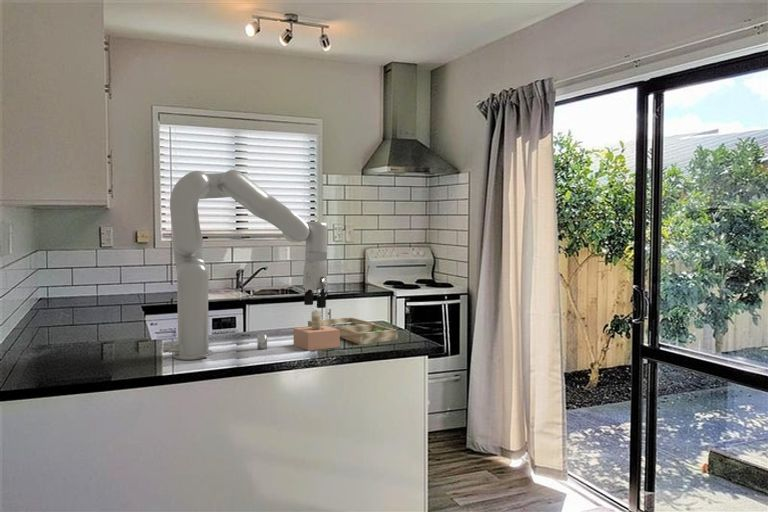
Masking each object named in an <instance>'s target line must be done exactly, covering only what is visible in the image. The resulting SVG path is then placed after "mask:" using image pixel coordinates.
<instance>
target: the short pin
mask: <svg viewBox="0 0 768 512" xmlns="http://www.w3.org/2000/svg"><path fill="white" fill-rule="evenodd" d="M256 336H257V337H256V338H257V339H256V341H257V343H256V344H257V345H256V346H257V348H256V349H257V350H258V351H265V350H268V333H258V334H257V335H256Z"/></svg>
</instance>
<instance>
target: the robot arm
mask: <svg viewBox="0 0 768 512" xmlns="http://www.w3.org/2000/svg"><path fill="white" fill-rule="evenodd" d="M220 198H221V199H223V198H231V199H233V200H234V201H235V202H237V203H239V204H240V206H242V207H243V208H245V209H246V210H247V211H248V212H250V213H251V214H252V215H254V216H255V217H256V218H259V219H261V220H262V221H265V222H268V223H270V224H271V225H273V226H274V227H276V228H277V229H278V230H279V231H280V232H281V233H282V236H283V237H284V239H285V240H286V241H289V242H291V243H302V242H305V247H304V248H305V250H304V255H305V256H304V266H303V277H302V287H303V289H304V290H303V293H304V297H303V298H304V302H303V303H304V306H312V305H314V293H313V292H314V291H316V293H317V296H316V309H325V308H327V307H326V306H327V296H328V295H327V294H328V288H329V283H328V281H327V279H328V274H327V273H328V272H327V262H328V261H327V260H328V233H329V231H328V227H329V226H328V223H327V222H325V221H309V222H308V221H307V222H306V221H305V220H304V219H303V218H301V217H300V216H299V215H298V214H297V213H295V212H294V211H292V209H290V207H287V206H286V205H284V204H283V203H281V202H280V201H279V200H277V199H276V198H275V197H273V196H271V195H270V194H269V193H268V192H267V191H265V190H264V189H263V188H261V187H260V186H259V185H258V184H256V183H255V182H254V181H253V180H251V179H250V178H249V177H248V176H246V175H245V174H244V173H242V172H241V171H239V170H237V169H230V170H227V171H225V172H219V173H217V172H216V173H205V172H204V171H201V170H200V171H199V170H193V171H190V172H188V173H186V174H185V175H184V176H182V177H181V178H179V180H178V181H177V182H176V183H175V185H174V186H173V188H172V191H171V194H170V197H169V213H170V221H171V228H172V240H171V242H172V249H173V250H172V251H173V258H174V263H175V270H176V281H177V283H176V286H177V287H176V288H177V294H176V295H177V341H175V344H172V345H170V346H169V345H168V346H167V345H166V346H162V353H163V354H164V353H166V354H167V353H169V354H171V353H173V354H172V358H174V359H176V360H185V361H186V360H189V361H190V360H202V359H207V358H208V357H209V356H212V355H213V354H214V352H215V351H214V350H211V349H209V347H210V346H209V345H210V343H209V342H210V341H209V284H210V283H209V282H210V281H209V279H210V278H209V277H210V276H209V274H210V273H209V270H208V267H207V265H206V262H205V255H204V248H203V244H204V243H203V242H204V239H203V235H202V231H201V225H200V217H199V208H198V206H199V201H200V200H206V199H220Z"/></svg>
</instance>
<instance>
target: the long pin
mask: <svg viewBox="0 0 768 512" xmlns="http://www.w3.org/2000/svg"><path fill="white" fill-rule="evenodd" d="M321 320H322V311H319V310H317V311H316V310H315V311H314V310H313V311H311V321H312V330H321Z"/></svg>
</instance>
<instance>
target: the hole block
mask: <svg viewBox="0 0 768 512" xmlns="http://www.w3.org/2000/svg"><path fill="white" fill-rule="evenodd" d="M328 326H329V325H327V326H324V325H323V326H321V330H312V327H308V326H303V327H302V326H301V327H293V346H295V347H296V348H297V347H298V348H301V349H303V350H306V351H309V352H310V351H316V350H326V349H335V348H341V337H340V330H339V329H335V328H331V327H332V326H331V327H328Z"/></svg>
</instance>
